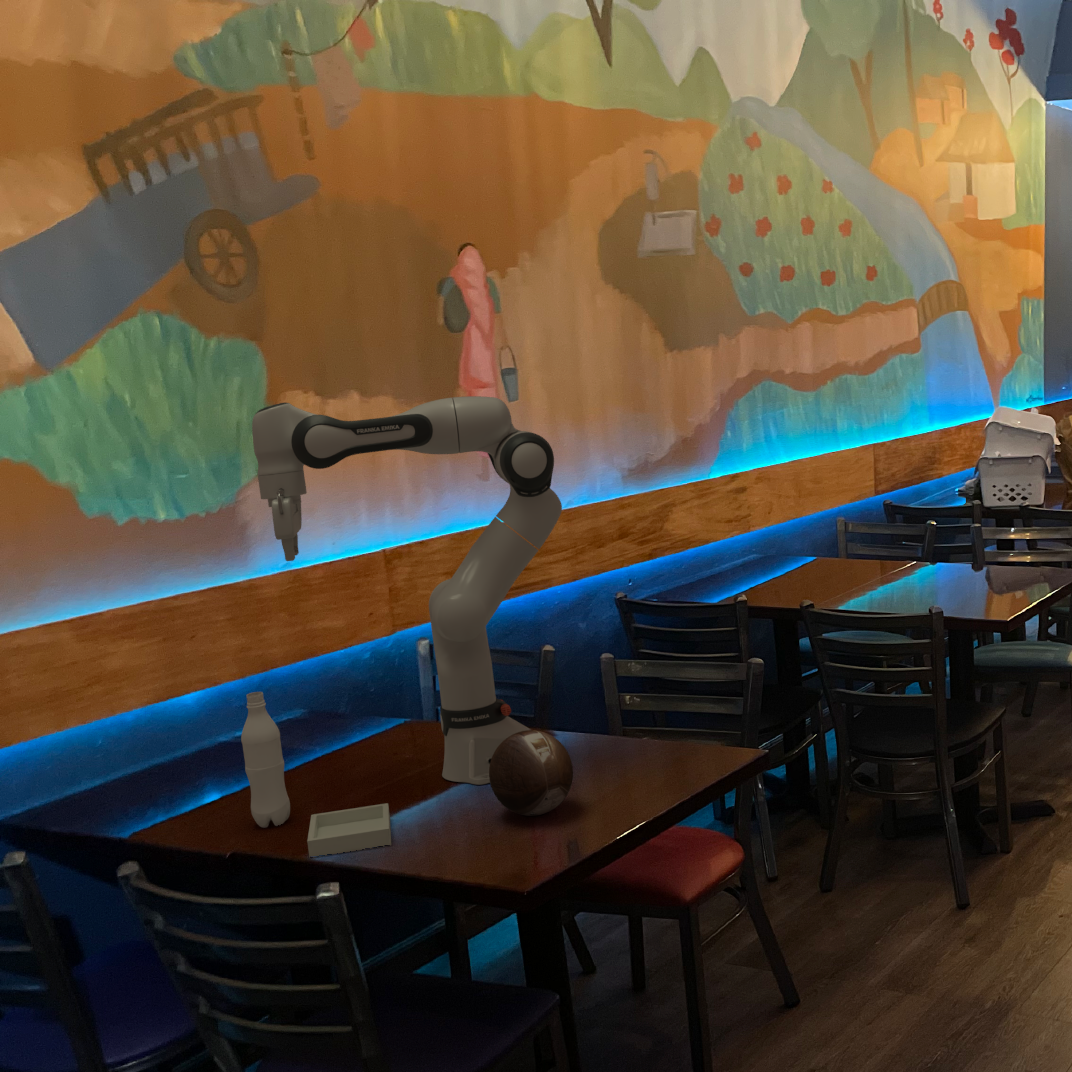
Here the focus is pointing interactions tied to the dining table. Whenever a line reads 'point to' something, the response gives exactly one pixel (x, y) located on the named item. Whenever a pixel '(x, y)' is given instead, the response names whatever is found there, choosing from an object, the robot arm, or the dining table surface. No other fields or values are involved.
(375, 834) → the tray
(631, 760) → the dining table surface
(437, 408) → the robot arm
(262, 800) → the water bottle
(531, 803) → the wooden sphere
